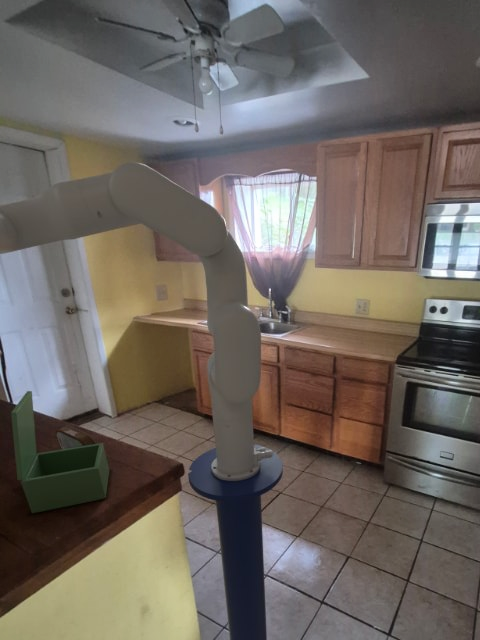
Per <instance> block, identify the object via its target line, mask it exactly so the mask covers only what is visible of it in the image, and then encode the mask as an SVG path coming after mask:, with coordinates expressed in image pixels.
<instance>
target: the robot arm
mask: <svg viewBox="0 0 480 640" xmlns="http://www.w3.org/2000/svg"><path fill="white" fill-rule="evenodd" d="M140 224H141V225H143V226H145V227H147V228H148V229H150V230H151V231H154V232H155V233H157V234H159V235H161V236H163V237H165V238H166V239H168V240H169V241H172V242H173V243H175V244H177V245H179V246H181V247H182V248H183V249H185V250H187V251H188V252H190V253H191V254H193V255H196V256H197V257H198V258H199V260H200V261H201V263H202V266H203V267H202V268H203V270H204V275H205V277H204V278H205V289H206V307H207V308H206V311H207V312H206V313H207V314H206V325H207V329H208V332H209V334H210V335H211V337H212V340H213V342H212V343H213V351H212V353H211V354H210V356H209V357H208V360H207V364H206V375H207V383H208V386H209V395H210V404H211V415H212V424H213V435H214V446H215V448H216V457H217V458H216V459H215V460H214V461H213V462H212V465H211V470H212V473H213V475H214V476H215V477H217V478H219V479H222V480H225V481H240V480H245V479H248V478H250V477H252V476H254V475H255V474H256V473H257V472H258V471H259V470H260V468H261V459H264V458H271V457H273V453H272V451H273V450H272V449H270V450H268V451H265V448H264V447H265V446H263V448H259V449H256V448H254V445H255V441H254V440H255V439H254V421H253V419H254V418H253V399H252V398H254V396H255V395H256V394H257V392H258V391H259V388H260V386H261V385H260V384H261V378H262V377H261V375H262V332H261V326H260V322H259V320H258V318H257V316H256V314H255V313H254V312H253V311H252V310H251V309H250V308H249V304H248V303H249V301H248V298H249V297H248V281H247V278H248V277H247V266H246V261H245V257H244V254H243V251H242V249H241V247H240V245H239V243H238V242H237V240H236V238H235V237H234V236H233V234H232V233H231V232H230V230H229V229H228V226H227V223H226V220H225V218H224V217H223V215H222V214H221V213H220V212H219V210H217V209H216V208H215V207H214V206H212V205H211V204H210V203H208V202H207V201H206V200H205V201H204V200H203V199H202V198H200V197H199V196H197V195H195V194H193V193H192V192H190V191H188V190H187V189H185V188H184V187H182V186H180V185H179V184H177V183H176V182H174V181H173V180H171V179H170V178H168V177H166V176H165V175H163V174H161V173H160V172H159V171H157V170H155V169H154V168H152V167H150V166H148V165H147V164H144V163H142V162H138V161H126V162H123V163H121V164H120V165H119V164H118V166H117V167H115V169H114V170H113V171H112V172H108V173H107V172H106V173H103V174H99V175H93V176H88V177H83V178H78V179H72V180H71V179H70V180H66V181H61V182H57V183H54V184H52V185H51V186H49V187H48V188H46V190H45V191H43V192H42V193H40V194H38V195H37V196H34V197H31V198H27V199H24V200H20V201H16V202H10V203H4V204H0V255H2V254H3V255H4V254H8V253H9V254H10V253H13V252H18V251H21V250H25V249H29V248H35V247H38V246H43V245H46V244H51V243H55V242H60V241H68V240H70V241H71V240H76V239H80V238H85V237H89V236H92V235H97V234H101V233H106V232H109V231H114V230H119V229H123V228H128V227H132V226H137V225H140ZM2 354H3V352H2V350H1V349H0V356H1V355H2Z"/></svg>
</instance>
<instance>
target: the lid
mask: <svg viewBox="0 0 480 640" xmlns="http://www.w3.org/2000/svg"><path fill="white" fill-rule="evenodd" d="M10 415H11V416H10V417H11V423H12V424H11V427H12V436H13V446H14V456H15V466H16V467H15V468H16V476H17V478H16V479H17V481H22V480H23V478H24V476H25V474H26V472H27V470H28V468H29V466H30V464H31V462H32V460H33V458H34V456H35V454H37V441H36V428H35V427H36V426H35V416H34V415H35V413H34V401H33V392H32V391H31V390H27V391H26V392H25V393H24V395H22V398H21V399H20V400H19V401H18V403H17V404H16V405H15V407H14V408H13V409H12V411H11V412H10Z"/></svg>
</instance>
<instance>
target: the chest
mask: <svg viewBox="0 0 480 640" xmlns="http://www.w3.org/2000/svg"><path fill="white" fill-rule="evenodd" d="M109 477H110V466H109V462H108V459H107V454H106V449H105V446H104V443H103V442H100V443H96V444H93V445H87V446H81V447H74V448H68V449H57V450H51V451H44V452H43V451H42V452H36V454H35V456H34V458H33V460H32V462H31V464H30V466H29V468H28V470H27V472H26V474H25V476H24V478H23V480H20V483H21V486H22V490H23V492H24V495H25V497H26V501H27V503H28V506H29V510H30V513H31V514H36V513H40V512H46V511H51V510H56V509H60V508H65V507H71V506H76V505H80V504H84V503H85V504H86V503H89V502H94V501H100V500H104V499H106V497H107V490H108V484H109Z"/></svg>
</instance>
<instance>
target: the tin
mask: <svg viewBox="0 0 480 640" xmlns="http://www.w3.org/2000/svg"><path fill="white" fill-rule="evenodd" d="M54 434H55V437H56V440H57V442H58V446H59V447H60V450H62V449H68V448H74V447H81V446H87V445H93V444H97V442H96V441H95V439H94V438H93V437H92V436H91V435H90V434H89V433H87V432H85V431H82V430H80V429H78V428H75V427H74V426H71V425H68V424H66V425H64V426H63V427H60V428H59V429H57V430H56V431H55V433H54Z"/></svg>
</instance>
